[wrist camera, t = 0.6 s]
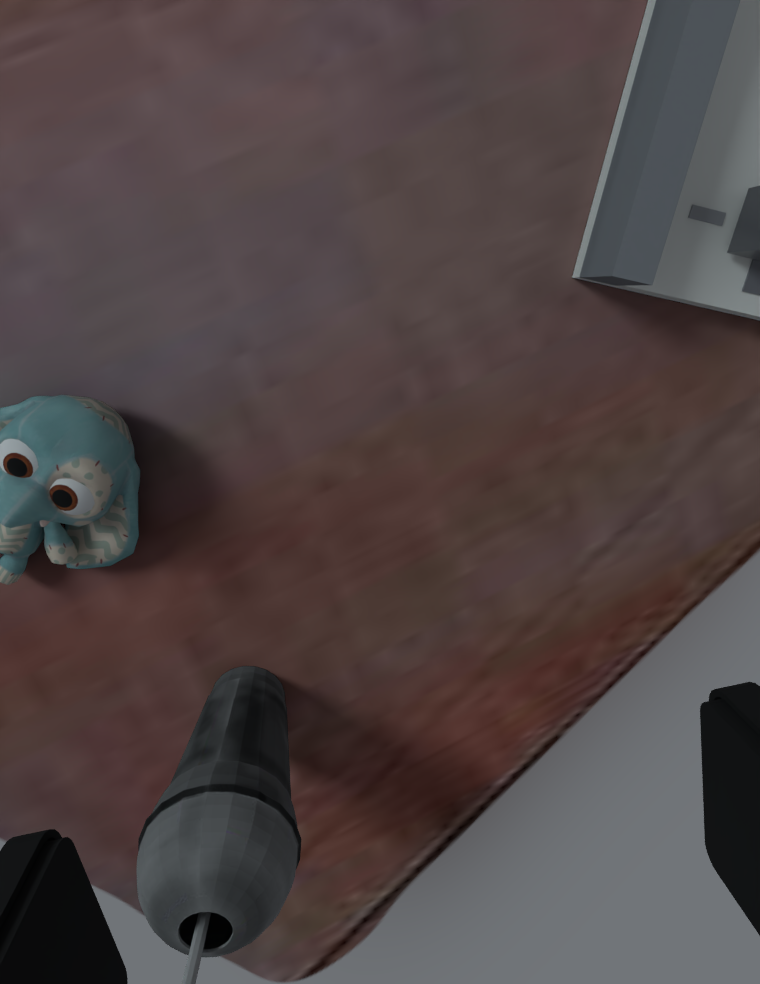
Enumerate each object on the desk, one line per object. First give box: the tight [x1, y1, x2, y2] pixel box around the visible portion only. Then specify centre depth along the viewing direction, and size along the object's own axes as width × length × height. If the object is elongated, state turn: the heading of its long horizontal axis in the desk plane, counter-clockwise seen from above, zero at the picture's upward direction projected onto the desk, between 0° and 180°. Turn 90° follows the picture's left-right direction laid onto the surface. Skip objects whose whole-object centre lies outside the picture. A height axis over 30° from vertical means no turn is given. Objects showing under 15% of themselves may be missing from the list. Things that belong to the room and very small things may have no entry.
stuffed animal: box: [0, 395, 140, 585], centre depth 33 cm, size 11×7×12 cm
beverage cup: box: [137, 666, 301, 984], centre depth 31 cm, size 7×7×20 cm
